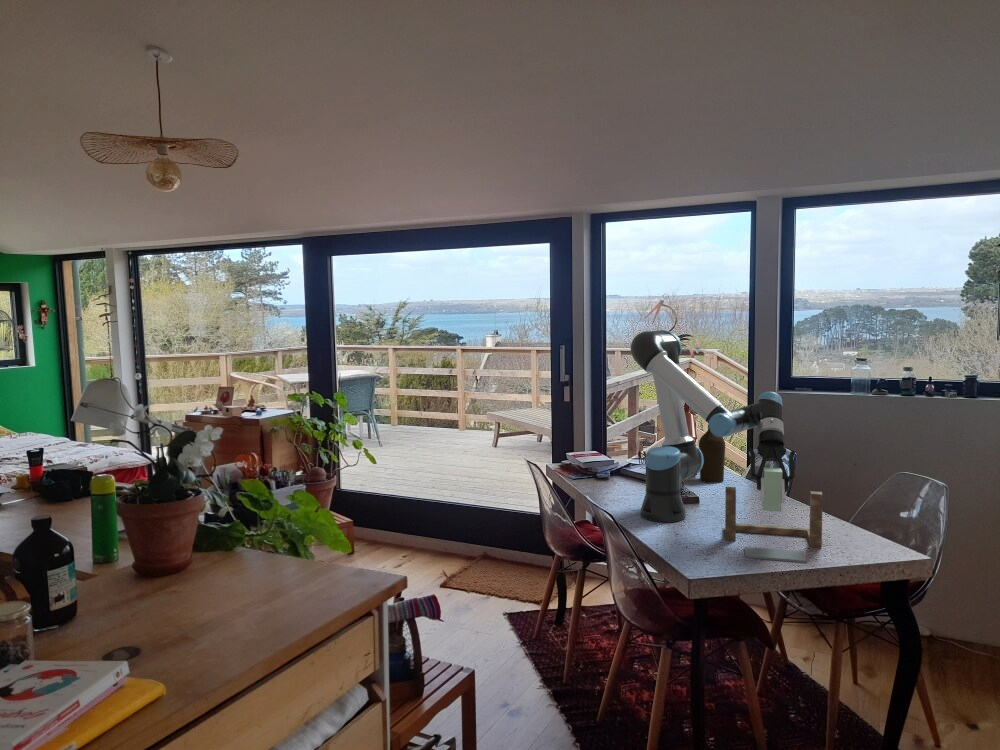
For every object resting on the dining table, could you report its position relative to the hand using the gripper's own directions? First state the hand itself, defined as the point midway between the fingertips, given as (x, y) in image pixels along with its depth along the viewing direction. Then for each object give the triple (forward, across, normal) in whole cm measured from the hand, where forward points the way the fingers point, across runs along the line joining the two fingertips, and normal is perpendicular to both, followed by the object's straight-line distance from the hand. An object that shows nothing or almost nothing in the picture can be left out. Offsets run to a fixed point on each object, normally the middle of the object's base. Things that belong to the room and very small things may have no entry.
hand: (772, 499), depth 203 cm
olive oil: (-47, -18, +68) cm, 85 cm away
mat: (+16, 0, +4) cm, 16 cm away
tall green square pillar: (0, 0, +5) cm, 5 cm away
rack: (+4, 0, +16) cm, 16 cm away
